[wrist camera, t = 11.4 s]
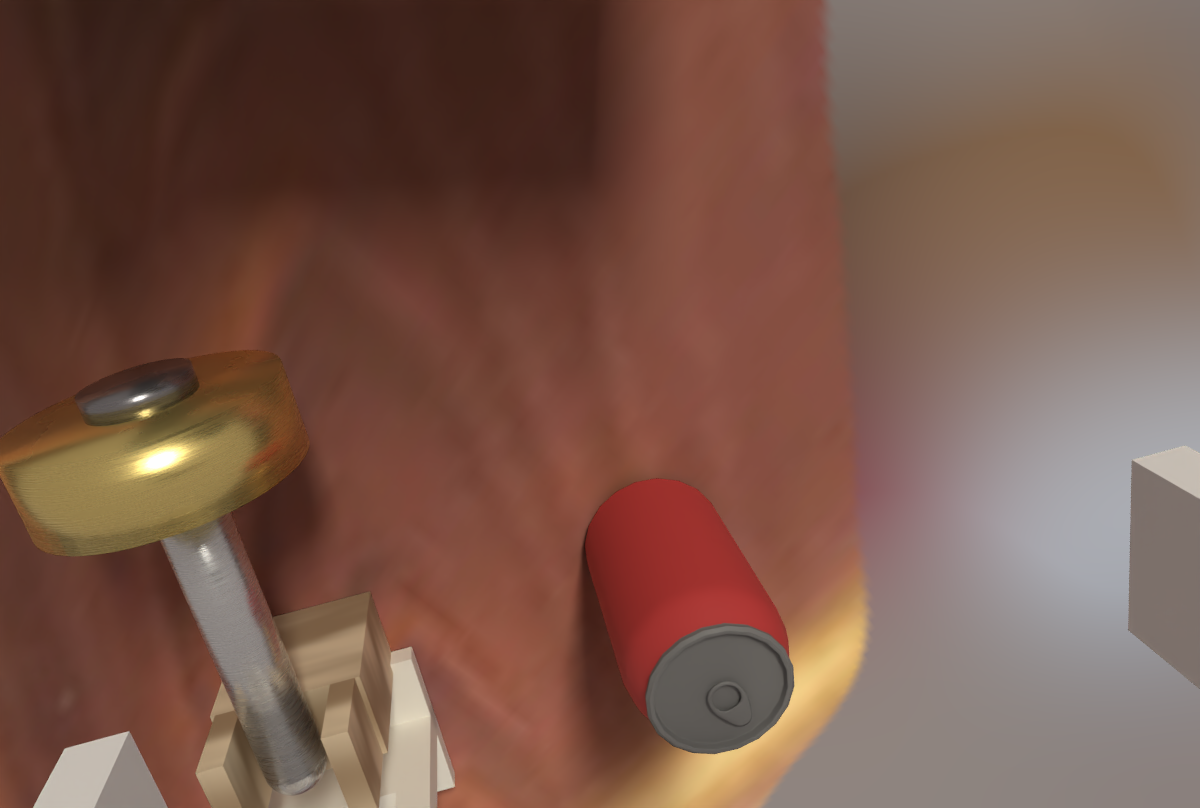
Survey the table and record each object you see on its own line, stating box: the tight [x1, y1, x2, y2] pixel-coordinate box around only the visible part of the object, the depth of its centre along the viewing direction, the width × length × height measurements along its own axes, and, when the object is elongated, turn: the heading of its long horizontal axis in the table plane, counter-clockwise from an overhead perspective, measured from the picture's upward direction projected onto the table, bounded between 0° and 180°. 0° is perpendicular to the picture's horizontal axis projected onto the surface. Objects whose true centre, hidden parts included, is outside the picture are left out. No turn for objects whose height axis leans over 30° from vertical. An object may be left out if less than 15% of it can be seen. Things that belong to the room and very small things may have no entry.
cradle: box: [195, 592, 393, 808], centre depth 39 cm, size 4×6×10 cm, turn 101°
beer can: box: [585, 478, 794, 754], centre depth 39 cm, size 7×7×12 cm
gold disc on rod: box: [0, 350, 327, 796], centre depth 33 cm, size 18×9×9 cm, turn 11°
